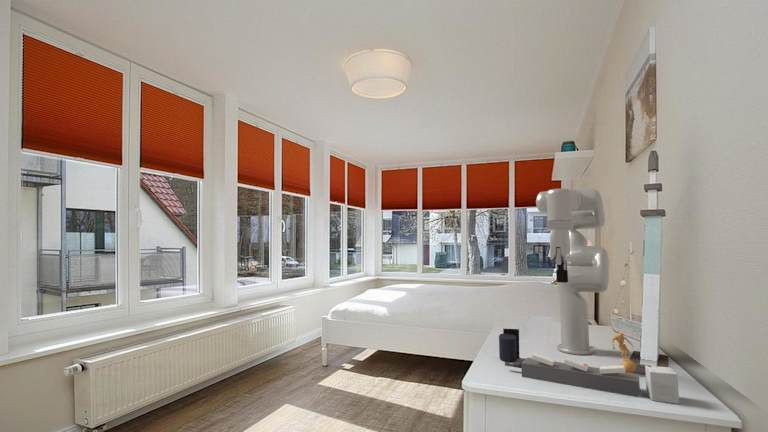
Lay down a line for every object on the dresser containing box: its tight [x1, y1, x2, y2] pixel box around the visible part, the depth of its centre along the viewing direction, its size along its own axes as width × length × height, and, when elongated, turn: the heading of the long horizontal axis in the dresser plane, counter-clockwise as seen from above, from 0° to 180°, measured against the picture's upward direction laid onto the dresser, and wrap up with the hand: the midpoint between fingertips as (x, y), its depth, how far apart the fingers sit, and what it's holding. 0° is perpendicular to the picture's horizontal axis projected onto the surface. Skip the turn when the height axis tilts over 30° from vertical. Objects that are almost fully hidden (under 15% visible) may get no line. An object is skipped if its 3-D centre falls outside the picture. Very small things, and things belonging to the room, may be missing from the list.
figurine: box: [611, 332, 637, 373], centre depth 124 cm, size 8×6×12 cm
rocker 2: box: [563, 356, 590, 372], centre depth 114 cm, size 3×6×1 cm, turn 56°
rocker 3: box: [599, 364, 626, 374], centre depth 109 cm, size 3×6×1 cm, turn 56°
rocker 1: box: [531, 352, 556, 366], centre depth 119 cm, size 3×6×1 cm, turn 56°
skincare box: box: [644, 365, 680, 404], centre depth 103 cm, size 6×6×7 cm
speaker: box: [498, 328, 520, 363], centre depth 138 cm, size 8×6×10 cm
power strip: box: [504, 357, 641, 398], centre depth 117 cm, size 7×36×4 cm, turn 56°
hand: (562, 282), depth 130 cm, fingers closed
